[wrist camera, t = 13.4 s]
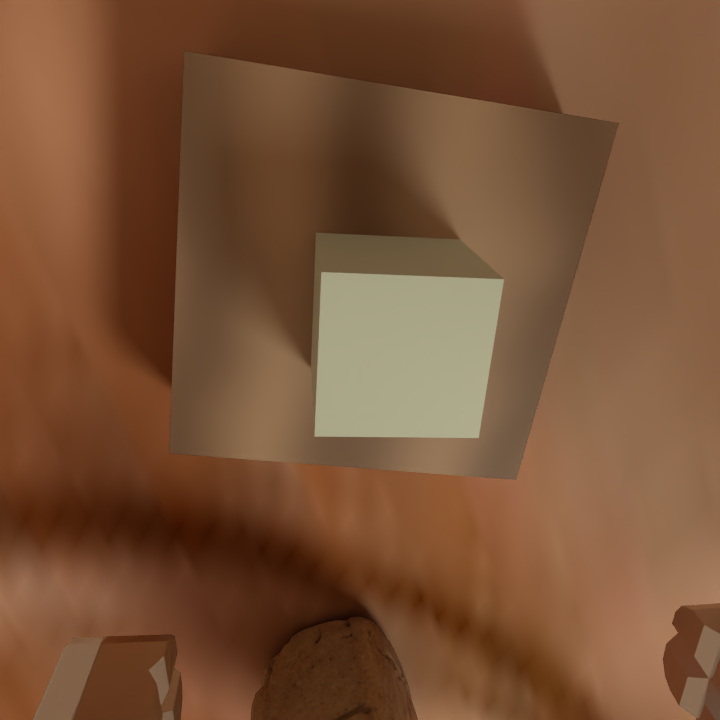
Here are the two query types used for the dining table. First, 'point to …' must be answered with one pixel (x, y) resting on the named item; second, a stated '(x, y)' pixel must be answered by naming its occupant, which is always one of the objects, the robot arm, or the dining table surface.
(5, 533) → the dining table surface
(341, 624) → the block
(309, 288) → the walnut base block
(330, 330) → the sage cube
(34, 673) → the dining table surface
